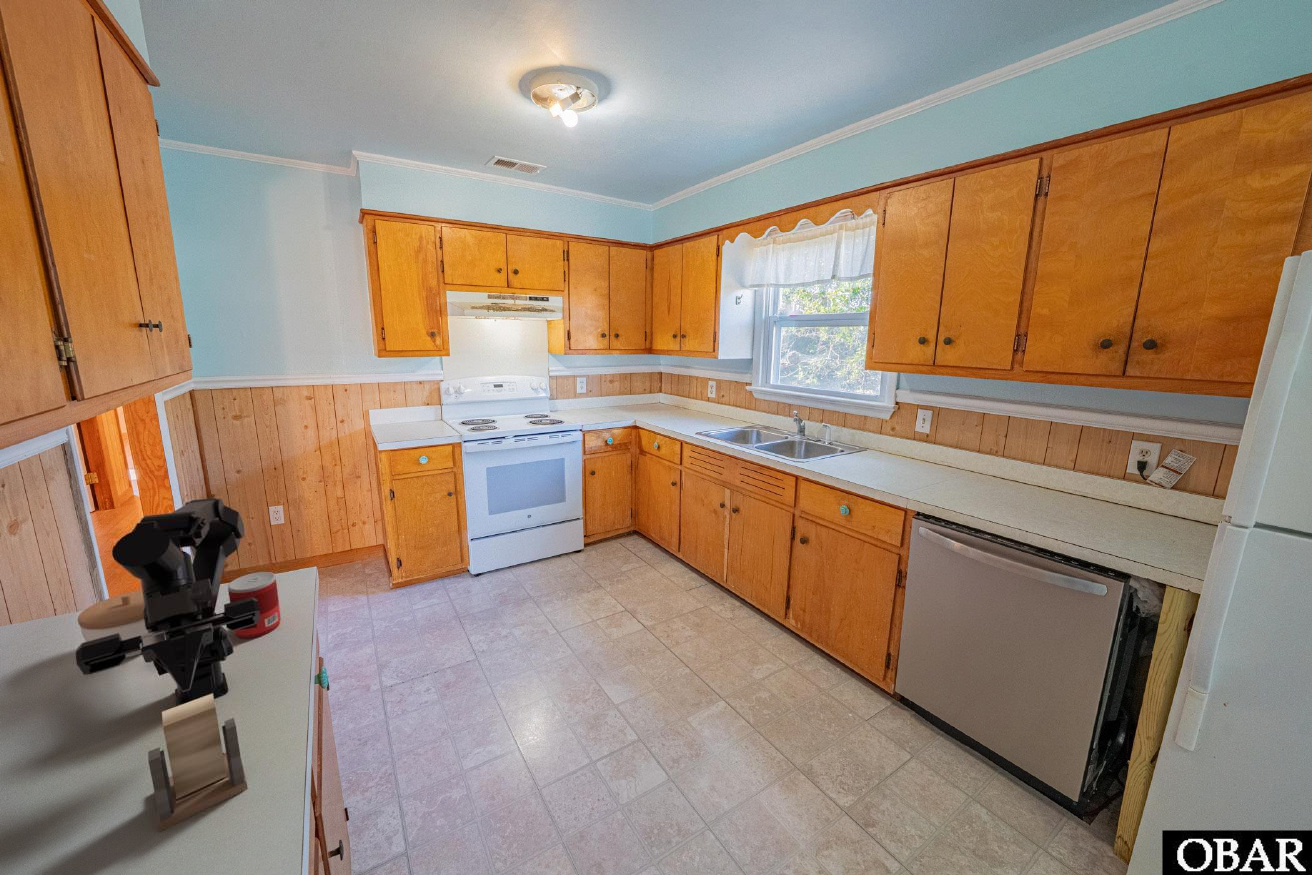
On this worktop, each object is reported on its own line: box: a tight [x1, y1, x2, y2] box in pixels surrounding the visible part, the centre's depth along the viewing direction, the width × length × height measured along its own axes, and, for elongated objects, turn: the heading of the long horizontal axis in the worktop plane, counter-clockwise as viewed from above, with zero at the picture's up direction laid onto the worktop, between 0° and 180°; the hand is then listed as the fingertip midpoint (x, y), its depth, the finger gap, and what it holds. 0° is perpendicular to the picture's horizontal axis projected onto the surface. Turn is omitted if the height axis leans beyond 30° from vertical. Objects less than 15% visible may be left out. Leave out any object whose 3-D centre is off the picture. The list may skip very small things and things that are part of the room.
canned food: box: [227, 571, 282, 639], centre depth 103 cm, size 8×8×11 cm
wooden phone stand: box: [147, 717, 248, 832], centre depth 67 cm, size 8×9×10 cm
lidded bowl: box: [77, 589, 148, 658], centre depth 96 cm, size 13×13×11 cm
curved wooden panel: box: [161, 693, 227, 799], centre depth 66 cm, size 4×5×11 cm
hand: (186, 690), depth 69 cm, fingers closed
